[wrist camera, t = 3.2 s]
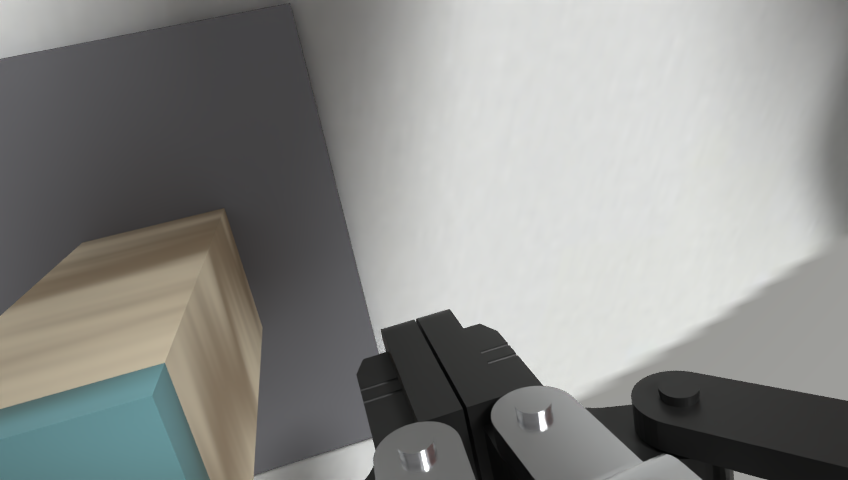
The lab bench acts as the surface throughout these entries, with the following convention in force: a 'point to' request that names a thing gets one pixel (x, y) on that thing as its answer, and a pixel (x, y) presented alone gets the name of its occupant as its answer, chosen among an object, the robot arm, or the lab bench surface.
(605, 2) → the lab bench surface
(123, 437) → the bar
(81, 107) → the mat
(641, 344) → the lab bench surface
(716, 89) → the lab bench surface
